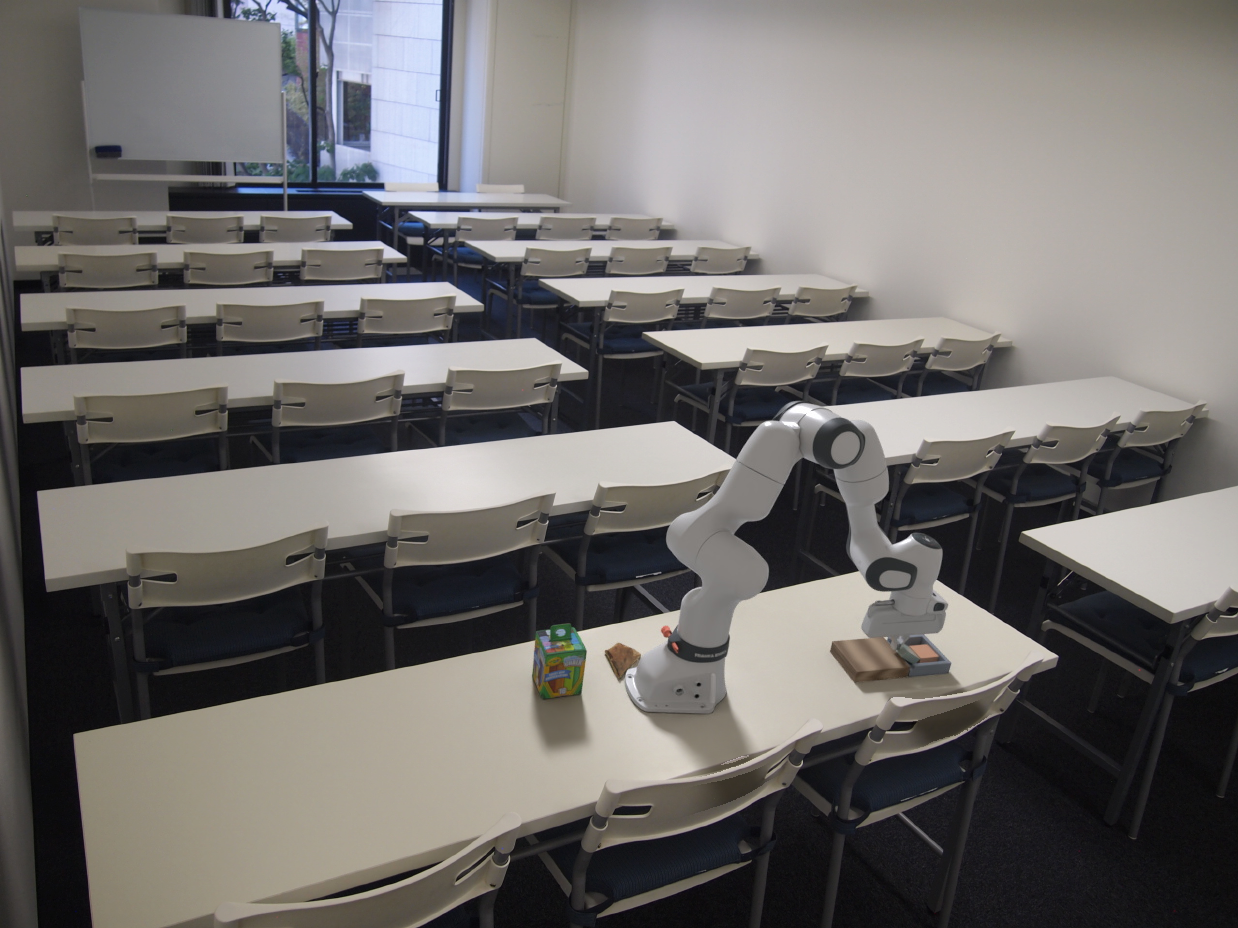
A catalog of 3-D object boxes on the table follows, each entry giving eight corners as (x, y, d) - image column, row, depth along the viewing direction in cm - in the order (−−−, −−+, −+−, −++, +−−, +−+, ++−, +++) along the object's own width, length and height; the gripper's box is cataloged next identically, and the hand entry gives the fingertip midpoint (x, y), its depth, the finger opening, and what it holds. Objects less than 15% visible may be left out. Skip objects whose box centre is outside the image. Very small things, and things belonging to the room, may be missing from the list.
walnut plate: (854, 682, 210) (857, 671, 209) (829, 651, 221) (832, 641, 220) (907, 677, 214) (910, 666, 213) (880, 647, 225) (883, 636, 224)
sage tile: (901, 657, 216) (907, 651, 216) (890, 644, 221) (896, 638, 220) (914, 664, 219) (920, 658, 218) (903, 652, 223) (908, 646, 222)
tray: (908, 677, 214) (911, 666, 213) (881, 646, 225) (884, 636, 224) (948, 673, 218) (951, 662, 216) (920, 643, 228) (923, 633, 227)
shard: (618, 681, 202) (619, 675, 202) (589, 668, 206) (590, 662, 205) (642, 658, 211) (643, 652, 210) (613, 646, 214) (614, 639, 214)
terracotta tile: (938, 656, 219) (936, 663, 220) (927, 644, 224) (925, 650, 224) (920, 658, 218) (919, 665, 219) (909, 645, 222) (907, 652, 223)
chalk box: (541, 700, 193) (546, 642, 187) (530, 674, 201) (535, 617, 195) (583, 694, 196) (589, 637, 190) (570, 668, 204) (576, 612, 198)
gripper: (877, 608, 207) (864, 659, 212) (954, 604, 213) (939, 653, 218) (863, 593, 212) (850, 643, 218) (939, 589, 218) (924, 637, 224)
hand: (895, 648), depth 218 cm, fingers closed
